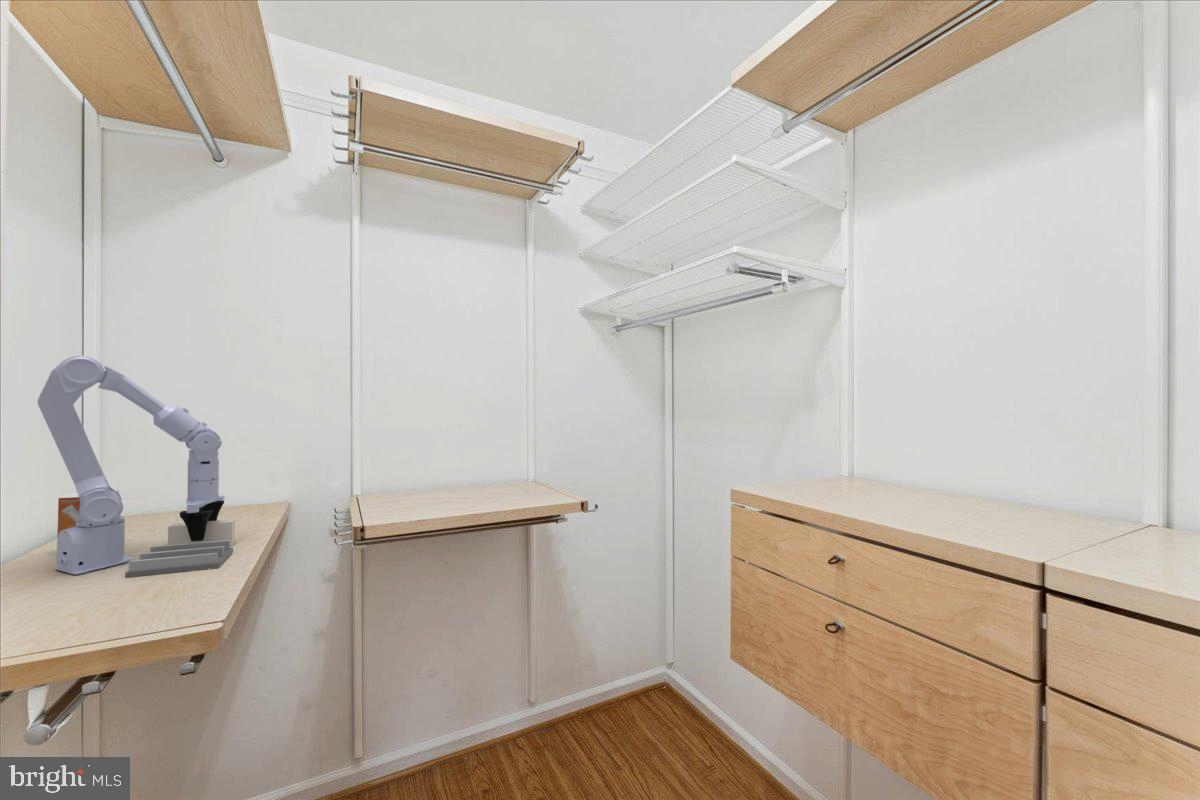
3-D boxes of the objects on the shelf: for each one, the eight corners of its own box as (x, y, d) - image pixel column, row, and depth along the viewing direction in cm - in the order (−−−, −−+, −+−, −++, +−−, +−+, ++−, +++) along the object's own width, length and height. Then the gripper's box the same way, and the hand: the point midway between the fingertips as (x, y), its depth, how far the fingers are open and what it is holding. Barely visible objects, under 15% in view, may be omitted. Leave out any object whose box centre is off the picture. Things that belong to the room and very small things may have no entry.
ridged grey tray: (125, 577, 95) (125, 562, 95) (149, 559, 105) (149, 546, 105) (218, 568, 101) (218, 553, 101) (233, 551, 111) (233, 539, 111)
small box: (56, 556, 106) (56, 497, 106) (72, 547, 112) (73, 492, 112) (105, 552, 109) (106, 495, 109) (119, 543, 115) (119, 489, 115)
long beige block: (167, 552, 111) (168, 526, 111) (172, 549, 113) (172, 523, 113) (231, 546, 116) (232, 521, 116) (234, 543, 118) (235, 519, 118)
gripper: (214, 483, 109) (214, 543, 109) (232, 473, 122) (232, 526, 123) (175, 485, 106) (174, 546, 106) (197, 474, 119) (197, 529, 120)
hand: (202, 536), depth 114 cm, fingers open, 7 cm apart
